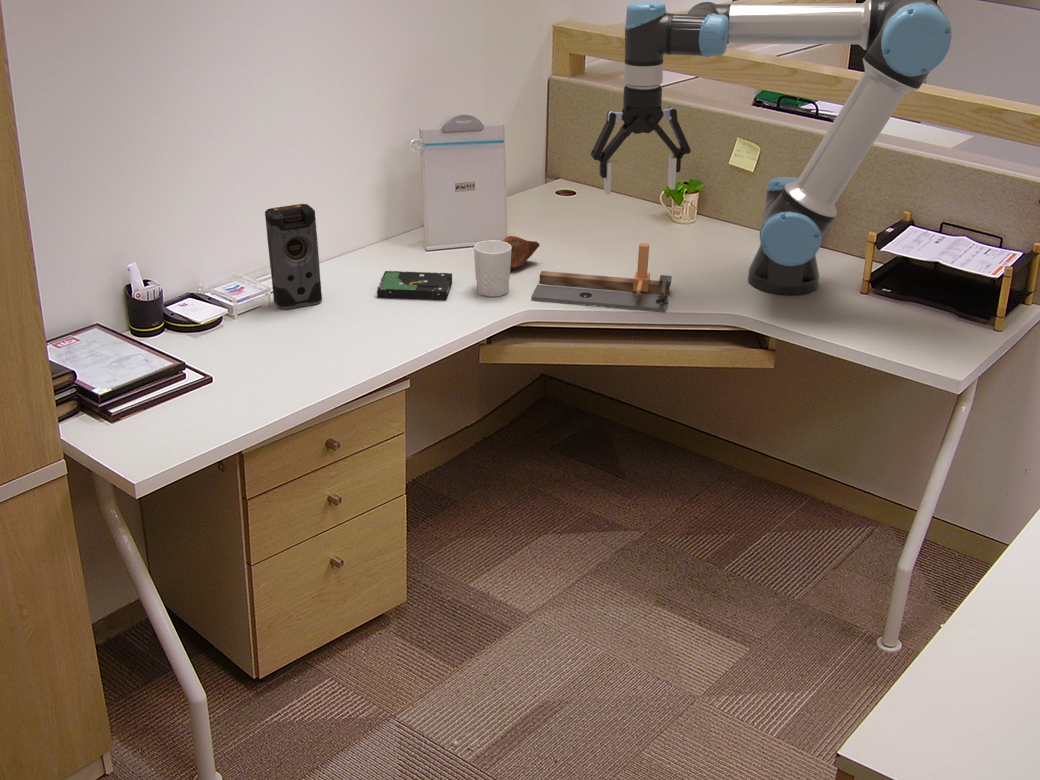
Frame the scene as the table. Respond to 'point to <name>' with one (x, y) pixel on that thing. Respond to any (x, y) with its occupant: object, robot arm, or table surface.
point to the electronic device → (293, 256)
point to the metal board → (599, 298)
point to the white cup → (492, 267)
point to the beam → (604, 282)
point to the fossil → (520, 250)
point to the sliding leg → (642, 270)
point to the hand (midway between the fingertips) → (639, 190)
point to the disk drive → (415, 285)
